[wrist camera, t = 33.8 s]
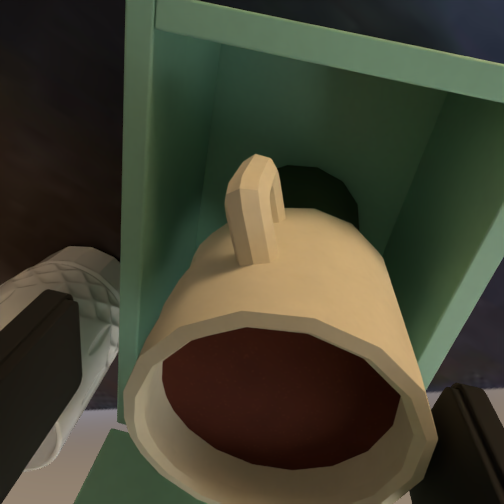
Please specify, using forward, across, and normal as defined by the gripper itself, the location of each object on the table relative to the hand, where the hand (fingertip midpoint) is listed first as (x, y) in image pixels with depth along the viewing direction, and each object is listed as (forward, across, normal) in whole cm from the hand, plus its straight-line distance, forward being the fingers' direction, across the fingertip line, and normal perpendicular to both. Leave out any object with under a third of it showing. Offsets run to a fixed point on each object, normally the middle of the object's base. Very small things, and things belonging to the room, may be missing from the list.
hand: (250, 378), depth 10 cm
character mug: (+12, -1, 0) cm, 12 cm away
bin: (+12, -1, 0) cm, 12 cm away
